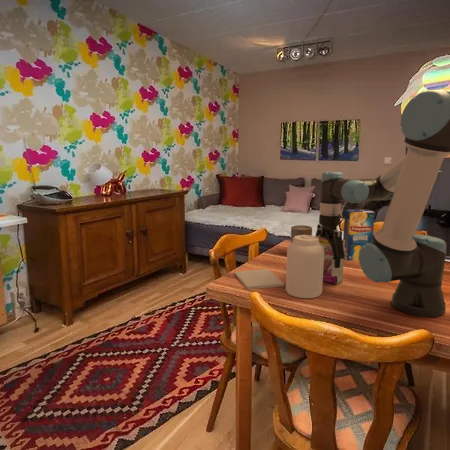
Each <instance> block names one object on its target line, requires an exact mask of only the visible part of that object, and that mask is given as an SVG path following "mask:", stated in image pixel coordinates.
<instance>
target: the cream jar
mask: <svg viewBox="0 0 450 450" xmlns="http://www.w3.org/2000/svg"><path fill="white" fill-rule="evenodd" d="M285 267H286V269H285V271H286V274H285V291H286V293H287V294H288V295H290V296H292V297H295V298H299V299H315V298H317V297H320V296H321V295H322V293H323V282H324V281H323V267H324V249H323V246H322V245H321V244H320V243H319V239H318V237H316V235H313V234H312V235H297V236H295V237H294V238H293V242H292V243H291V242H290V243H289V244H288V246H287V249H286V266H285Z"/></svg>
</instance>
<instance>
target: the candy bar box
mask: <svg viewBox="0 0 450 450" xmlns="http://www.w3.org/2000/svg"><path fill="white" fill-rule="evenodd" d="M315 236H316V235H315ZM316 237H318V239H319V243H320V244H321V245H322V246H323V249H324V267H323V282H325V283H329V284H333V285H339V284H340V283H343V280H344V279H343V276H344V275H343V274H344V262H345V261H344V260H345V258H344V259H341V260H340V270H339V276H331V273H332V258H334V256H333V253H332V249H331V245H330V242H328V239H326V238H324V237H320V236H316ZM342 242H343V249H344V250H345V240H343V239H342ZM334 243H335V241H334Z"/></svg>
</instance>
